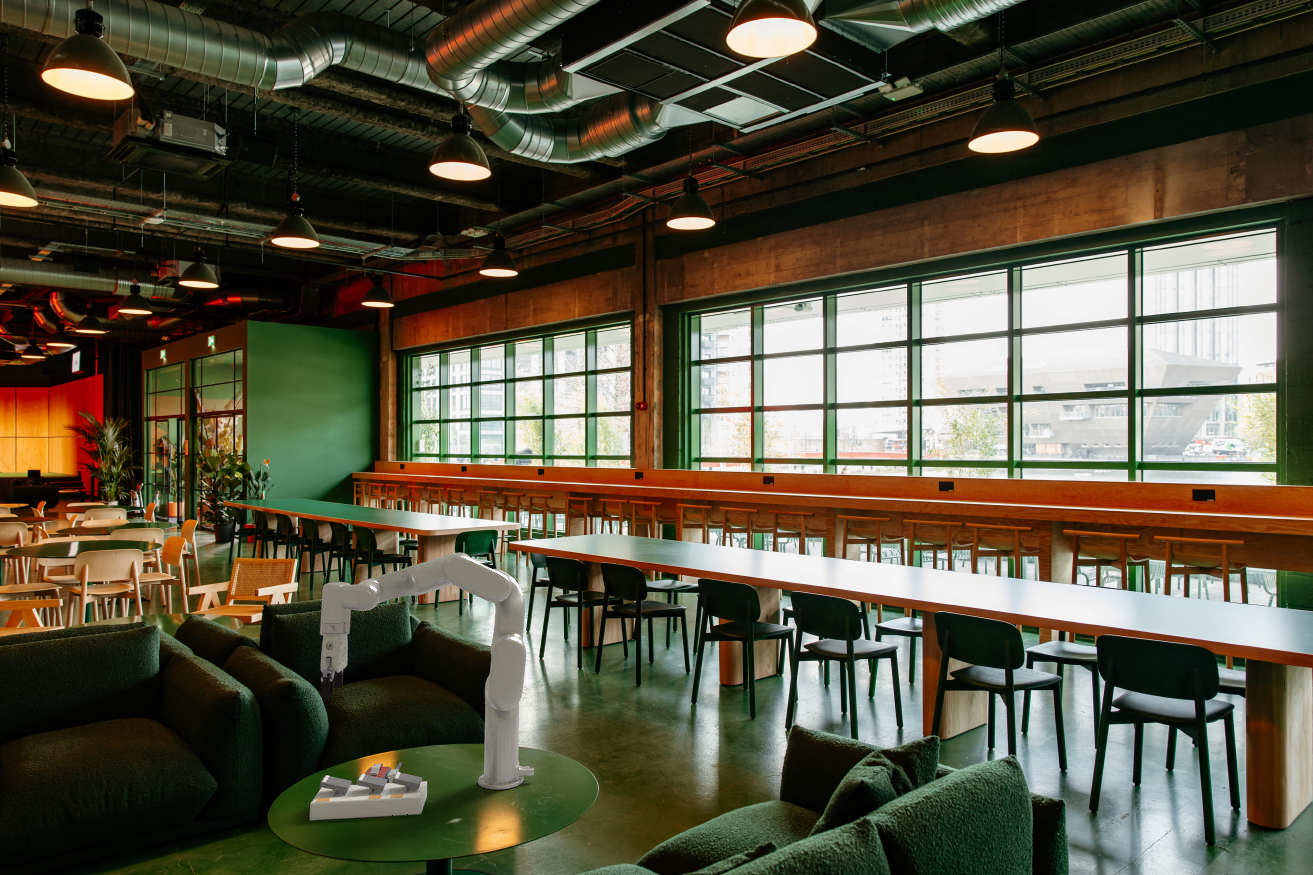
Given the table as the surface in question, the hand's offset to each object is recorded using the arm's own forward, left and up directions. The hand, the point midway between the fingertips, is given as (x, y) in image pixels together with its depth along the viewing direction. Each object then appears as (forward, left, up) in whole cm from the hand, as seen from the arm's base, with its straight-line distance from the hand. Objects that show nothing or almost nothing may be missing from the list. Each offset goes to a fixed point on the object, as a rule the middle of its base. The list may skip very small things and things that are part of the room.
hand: (331, 691), depth 219 cm
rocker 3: (-22, +9, -22) cm, 32 cm away
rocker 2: (-13, +9, -22) cm, 26 cm away
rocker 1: (-4, +9, -22) cm, 24 cm away
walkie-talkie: (-12, -12, -28) cm, 33 cm away
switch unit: (-13, +10, -28) cm, 32 cm away
